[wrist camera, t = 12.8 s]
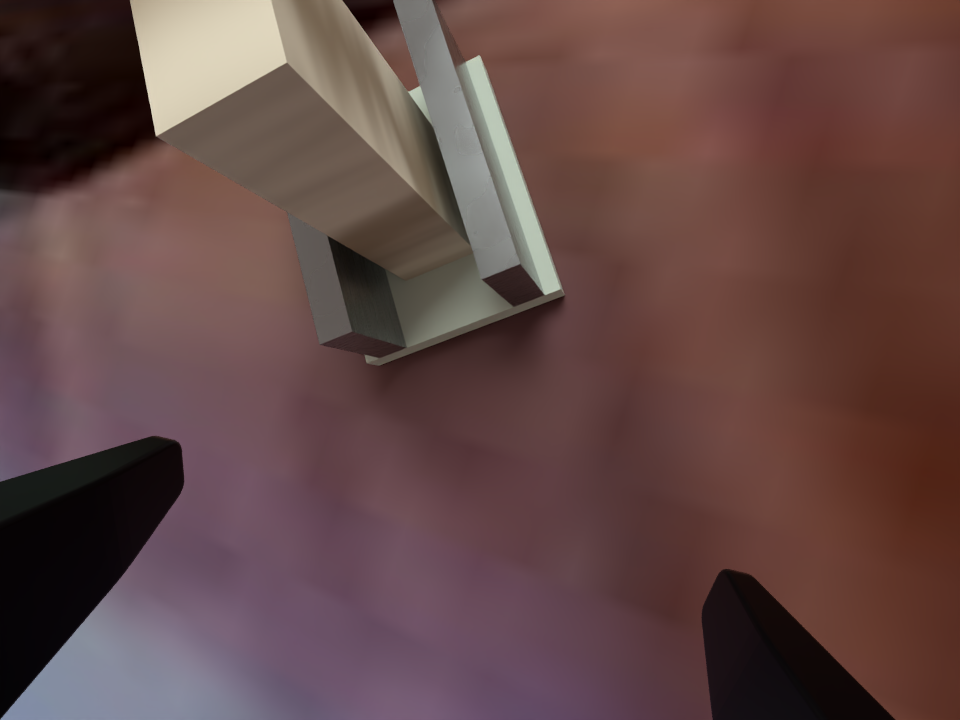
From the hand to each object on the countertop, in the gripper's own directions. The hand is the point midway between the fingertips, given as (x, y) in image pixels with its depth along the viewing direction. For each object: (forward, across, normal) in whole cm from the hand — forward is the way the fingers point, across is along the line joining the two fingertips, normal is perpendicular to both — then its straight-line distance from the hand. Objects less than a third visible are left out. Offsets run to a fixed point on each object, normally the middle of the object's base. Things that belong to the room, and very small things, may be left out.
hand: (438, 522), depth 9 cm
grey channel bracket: (+15, +4, -2) cm, 15 cm away
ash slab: (+14, +4, -2) cm, 15 cm away
